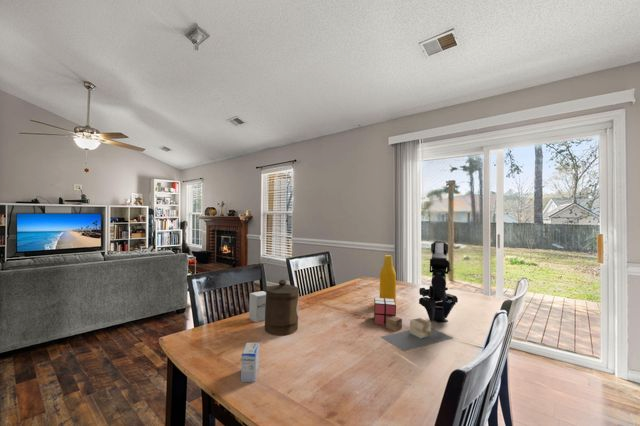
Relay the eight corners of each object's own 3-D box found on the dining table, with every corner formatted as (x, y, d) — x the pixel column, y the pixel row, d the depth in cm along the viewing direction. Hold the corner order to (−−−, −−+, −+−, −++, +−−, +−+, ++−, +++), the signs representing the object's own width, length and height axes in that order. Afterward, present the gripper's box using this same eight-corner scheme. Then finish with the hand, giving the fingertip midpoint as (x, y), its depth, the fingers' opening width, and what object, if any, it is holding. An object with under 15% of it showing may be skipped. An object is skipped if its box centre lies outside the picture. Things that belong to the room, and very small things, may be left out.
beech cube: (420, 331, 125) (420, 317, 125) (430, 336, 120) (431, 322, 120) (409, 333, 123) (410, 319, 123) (420, 339, 117) (420, 324, 117)
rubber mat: (427, 327, 132) (427, 326, 132) (453, 338, 119) (453, 337, 119) (380, 337, 119) (380, 336, 119) (403, 352, 106) (403, 351, 106)
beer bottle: (383, 302, 169) (383, 254, 170) (398, 305, 164) (398, 255, 164) (376, 305, 162) (377, 255, 162) (392, 309, 156) (392, 257, 157)
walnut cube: (392, 326, 132) (392, 315, 132) (401, 329, 128) (401, 318, 129) (386, 328, 129) (386, 317, 129) (395, 332, 125) (395, 321, 125)
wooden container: (304, 328, 127) (305, 280, 127) (278, 339, 116) (279, 285, 116) (283, 320, 137) (284, 275, 137) (257, 328, 126) (259, 279, 126)
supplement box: (255, 322, 133) (256, 296, 133) (248, 318, 138) (249, 292, 139) (269, 319, 138) (270, 293, 138) (261, 315, 143) (262, 290, 143)
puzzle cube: (395, 326, 132) (396, 304, 132) (374, 324, 134) (374, 303, 134) (394, 318, 142) (394, 298, 142) (373, 317, 144) (374, 297, 144)
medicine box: (245, 368, 93) (245, 342, 93) (258, 368, 93) (259, 342, 94) (240, 382, 85) (241, 353, 85) (255, 382, 86) (256, 353, 86)
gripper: (438, 279, 138) (438, 310, 138) (410, 282, 130) (409, 316, 129) (458, 284, 128) (458, 318, 128) (429, 288, 120) (428, 325, 119)
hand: (438, 319), depth 126 cm, fingers open, 9 cm apart
